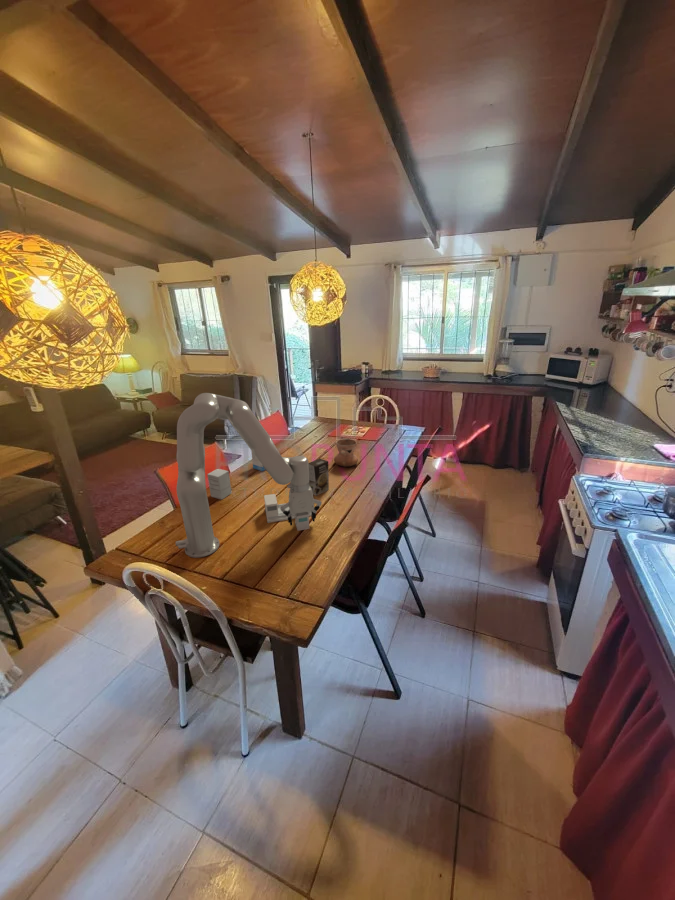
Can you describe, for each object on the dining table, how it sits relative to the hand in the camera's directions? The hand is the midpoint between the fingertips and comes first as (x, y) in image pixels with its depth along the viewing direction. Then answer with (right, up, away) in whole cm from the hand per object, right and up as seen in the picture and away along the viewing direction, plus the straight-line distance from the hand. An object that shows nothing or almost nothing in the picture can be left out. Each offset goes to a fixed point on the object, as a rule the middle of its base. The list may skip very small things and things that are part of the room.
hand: (302, 521), depth 146 cm
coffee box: (+5, +9, +30) cm, 32 cm away
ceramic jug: (+20, +22, +62) cm, 69 cm away
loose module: (0, -2, +1) cm, 2 cm away
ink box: (-29, +20, +58) cm, 68 cm away
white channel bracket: (-7, +2, +11) cm, 14 cm away
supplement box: (-44, +8, +27) cm, 52 cm away
